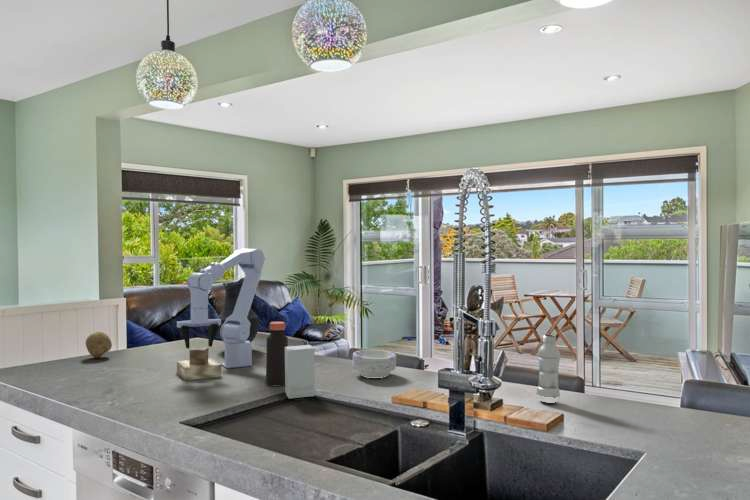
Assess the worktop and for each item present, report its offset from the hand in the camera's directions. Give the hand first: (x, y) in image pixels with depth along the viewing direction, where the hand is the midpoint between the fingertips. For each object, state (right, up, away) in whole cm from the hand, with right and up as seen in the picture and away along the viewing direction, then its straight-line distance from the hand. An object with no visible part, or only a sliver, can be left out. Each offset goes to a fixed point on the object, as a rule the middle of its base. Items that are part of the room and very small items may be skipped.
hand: (199, 347), depth 196 cm
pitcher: (+3, -9, +45) cm, 46 cm away
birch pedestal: (0, -9, 0) cm, 9 cm away
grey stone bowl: (+60, -11, +3) cm, 61 cm away
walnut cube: (0, -5, -1) cm, 5 cm away
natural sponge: (-46, -8, +24) cm, 52 cm away
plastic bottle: (+112, -12, -27) cm, 116 cm away
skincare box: (+38, -11, -24) cm, 46 cm away
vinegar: (+29, -10, -11) cm, 32 cm away
